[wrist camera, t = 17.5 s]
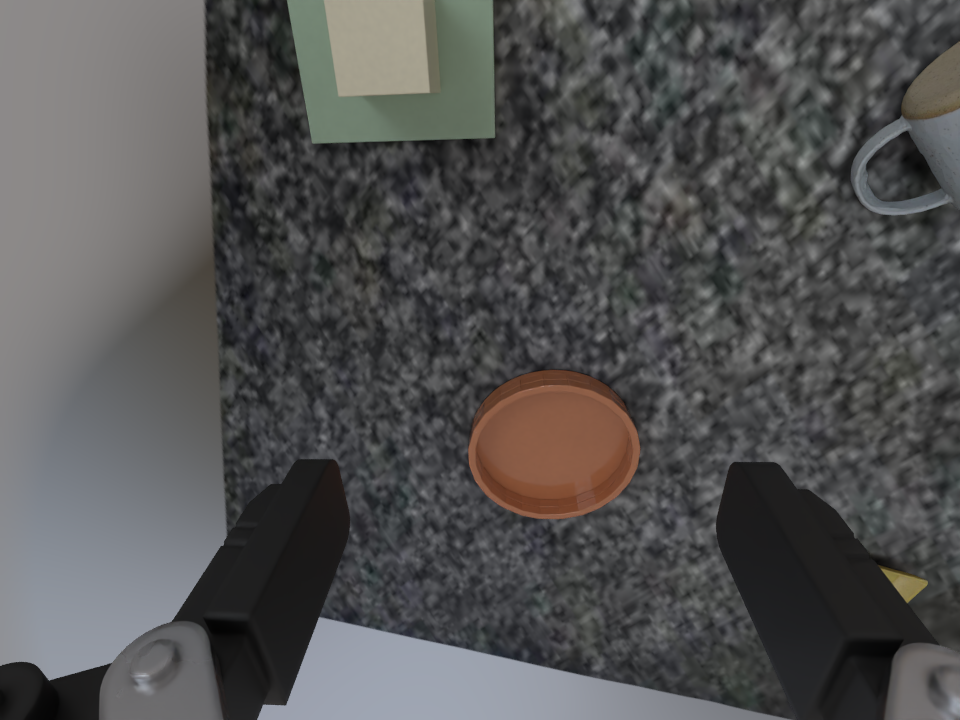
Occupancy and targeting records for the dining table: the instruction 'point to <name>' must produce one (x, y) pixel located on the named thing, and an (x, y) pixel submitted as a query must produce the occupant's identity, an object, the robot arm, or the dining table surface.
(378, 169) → the dining table surface
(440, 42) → the mat
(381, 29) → the block
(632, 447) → the terracotta dish
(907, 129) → the ceramic mug
